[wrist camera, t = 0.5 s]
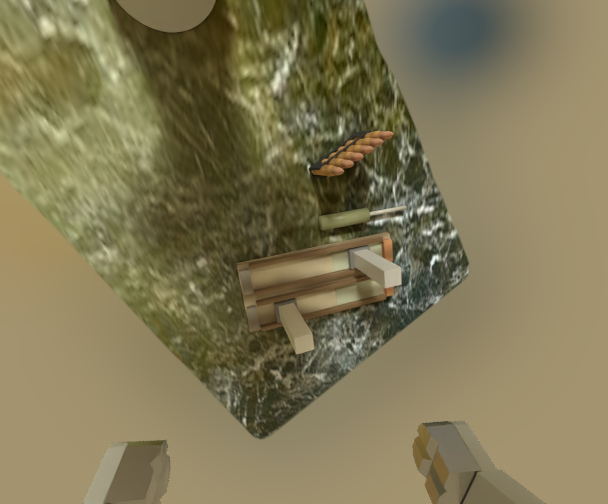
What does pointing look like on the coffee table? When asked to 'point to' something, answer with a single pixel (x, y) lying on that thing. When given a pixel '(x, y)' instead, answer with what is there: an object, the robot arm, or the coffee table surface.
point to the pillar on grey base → (374, 266)
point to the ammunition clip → (348, 153)
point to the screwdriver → (350, 217)
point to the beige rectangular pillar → (294, 325)
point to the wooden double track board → (310, 281)
